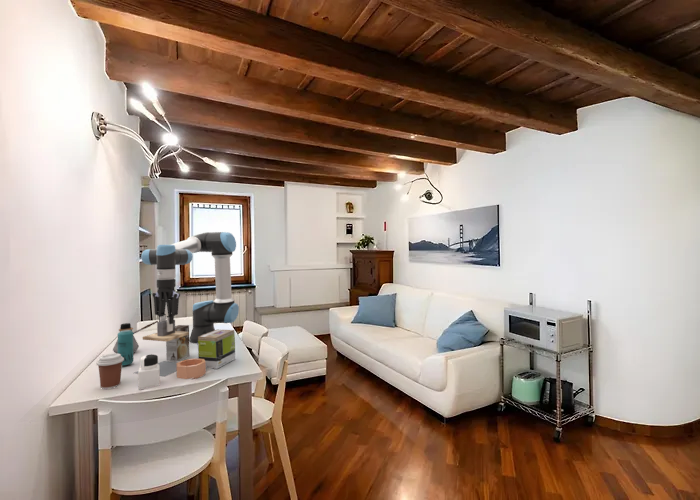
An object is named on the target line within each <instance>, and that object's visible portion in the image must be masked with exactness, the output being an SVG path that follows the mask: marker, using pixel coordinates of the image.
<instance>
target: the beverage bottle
mask: <svg viewBox="0 0 700 500" xmlns="http://www.w3.org/2000/svg"><path fill="white" fill-rule="evenodd" d="M128 328H132V325H131V322H130V323H129V322H126V323H122V324H120V326H119V329H128ZM133 332H134V331H133V330H132V331H131V330H124V331H119V332H118V333H117V339H118V351H117V353H118V354H121V356H122V357H123V358H124V361H123V362H122V366H127V365H131V364H133V363H134V353H133V346H134V345H133V336H134V334H133Z"/></svg>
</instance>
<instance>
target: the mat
mask: <svg viewBox="0 0 700 500" xmlns="http://www.w3.org/2000/svg"><path fill="white" fill-rule="evenodd" d="M178 362H179V361H166V360H162V361H160V362H158V364H159V365H160V377H165V378H166V377H168V376H170V375H172V374H174V373H177V365H176V363H178ZM138 371H139V370H138ZM138 371H135V372H133V374H137V375H138Z"/></svg>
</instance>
